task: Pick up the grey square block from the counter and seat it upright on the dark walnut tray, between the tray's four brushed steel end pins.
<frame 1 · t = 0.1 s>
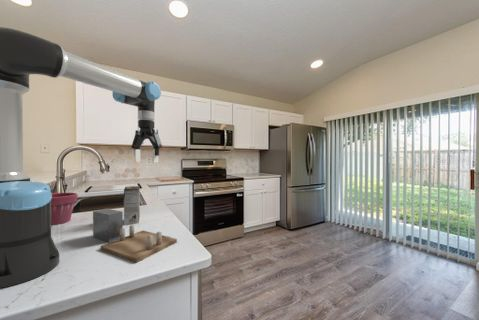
hand: (146, 162, 103), 28 cm above the counter, tool pointing down, fingers open, 13 cm apart
plant pot: (57, 222, 94), on the counter
grey square block: (107, 237, 77), on the counter
coffee box: (132, 221, 96), on the counter
pin tray: (140, 245, 70), on the counter
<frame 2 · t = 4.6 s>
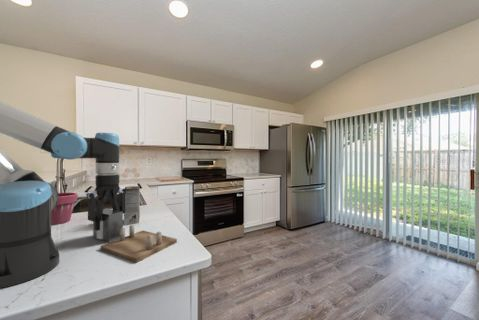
hand: (107, 235, 77), 1 cm above the counter, tool pointing down, fingers closed on grey square block, 5 cm apart
grey square block: (107, 237, 77), on the counter, touching gripper
everything else where it was.
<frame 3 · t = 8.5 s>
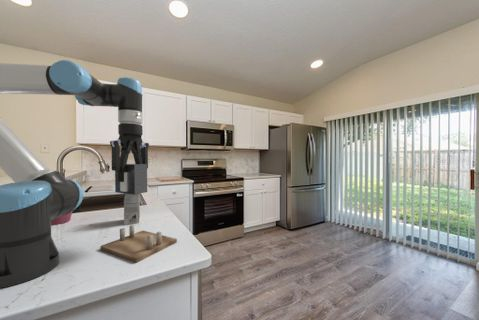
hand: (131, 189, 72), 19 cm above the counter, tool pointing down, fingers closed on grey square block, 5 cm apart
grey square block: (131, 192, 72), point 18 cm above the counter, touching gripper
everything else where it was.
when the fingers open (4 cm above the counter, at t = 12.8 s): grey square block drops 2 cm, resting on pin tray.
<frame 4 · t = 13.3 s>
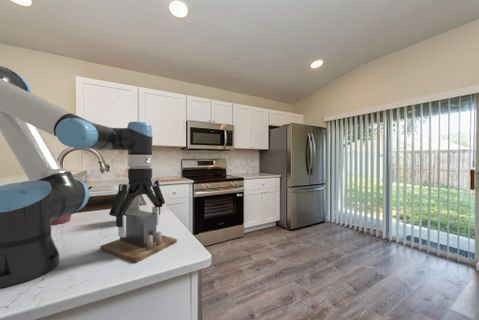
hand: (140, 230, 70), 5 cm above the counter, tool pointing down, fingers open, 12 cm apart
grey square block: (140, 242, 70), point 1 cm above the counter, touching pin tray
everything else where it was.
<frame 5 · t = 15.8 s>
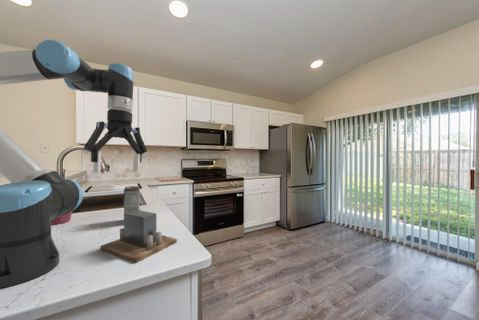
hand: (118, 171, 71), 25 cm above the counter, tool pointing down, fingers open, 13 cm apart
nothing on the counter moved.
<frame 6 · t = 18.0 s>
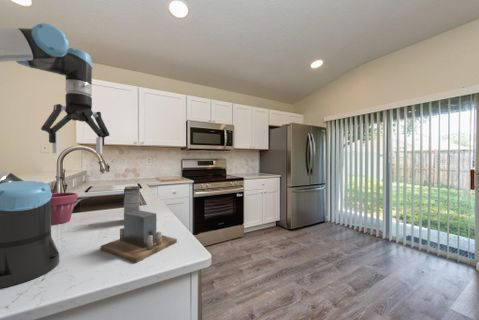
hand: (79, 153, 74), 32 cm above the counter, tool pointing down, fingers open, 13 cm apart
nothing on the counter moved.
at the end: grey square block 0.0 cm off-centre on the pin tray, point 1.2 cm above the pin tray's base; grey square block tilted 0°; the gripper is holding nothing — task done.
